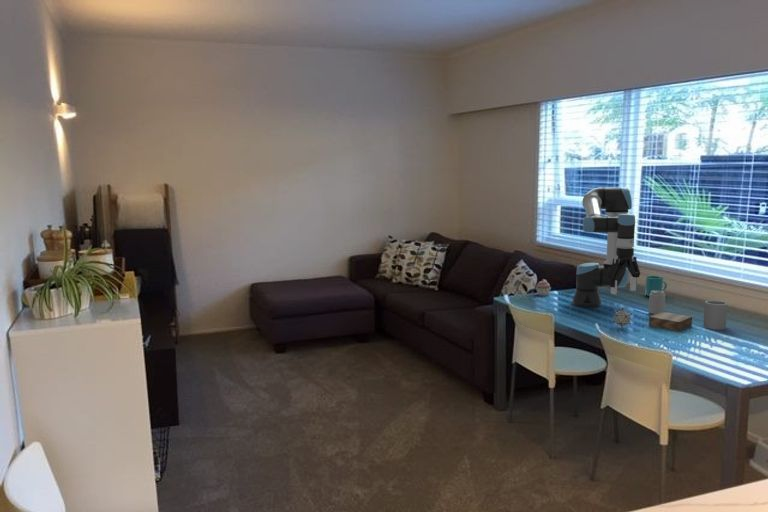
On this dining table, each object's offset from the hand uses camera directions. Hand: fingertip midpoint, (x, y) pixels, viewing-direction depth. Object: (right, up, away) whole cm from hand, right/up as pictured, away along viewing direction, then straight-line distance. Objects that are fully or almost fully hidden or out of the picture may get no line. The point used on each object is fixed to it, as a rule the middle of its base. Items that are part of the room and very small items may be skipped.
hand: (623, 292), depth 279 cm
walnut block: (+24, -17, +5) cm, 30 cm away
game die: (0, -17, +3) cm, 18 cm away
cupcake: (-17, -7, +76) cm, 78 cm away
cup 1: (+47, -7, +69) cm, 84 cm away
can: (+28, -13, +28) cm, 42 cm away
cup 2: (+43, -17, +1) cm, 47 cm away
